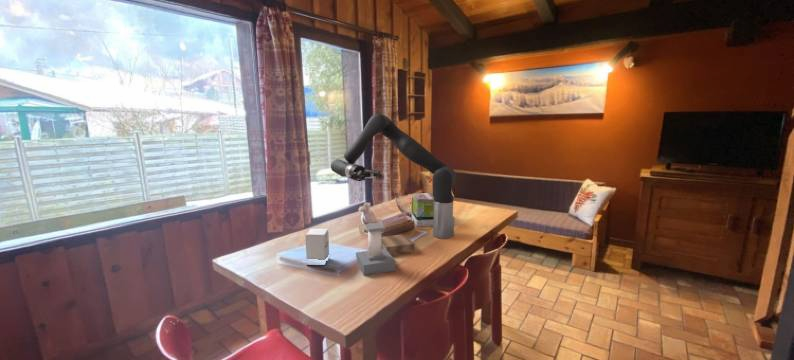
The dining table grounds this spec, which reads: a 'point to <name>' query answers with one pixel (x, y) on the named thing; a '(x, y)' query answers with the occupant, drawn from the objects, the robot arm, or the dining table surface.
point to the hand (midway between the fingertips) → (372, 177)
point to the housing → (374, 241)
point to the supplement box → (317, 244)
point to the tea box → (422, 209)
